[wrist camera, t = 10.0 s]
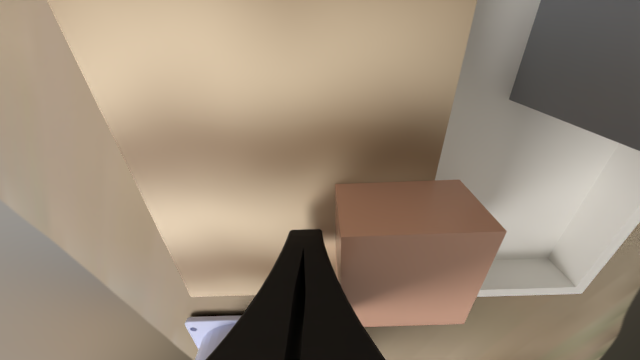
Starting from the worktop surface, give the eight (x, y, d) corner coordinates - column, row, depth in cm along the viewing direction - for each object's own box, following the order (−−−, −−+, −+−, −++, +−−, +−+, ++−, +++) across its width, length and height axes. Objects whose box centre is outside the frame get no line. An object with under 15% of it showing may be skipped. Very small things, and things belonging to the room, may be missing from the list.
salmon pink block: (434, 263, 13) (464, 323, 10) (335, 267, 13) (340, 327, 10) (459, 179, 10) (507, 231, 8) (334, 184, 10) (341, 237, 8)
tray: (546, 258, 16) (581, 293, 14) (395, 262, 16) (407, 298, 14) (806, -160, 7) (1009, -235, 5) (468, -145, 7) (530, -213, 5)
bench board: (397, 256, 16) (408, 290, 14) (206, 262, 16) (190, 297, 14) (462, -115, 8) (516, -165, 6) (68, -97, 8) (-22, -140, 6)
